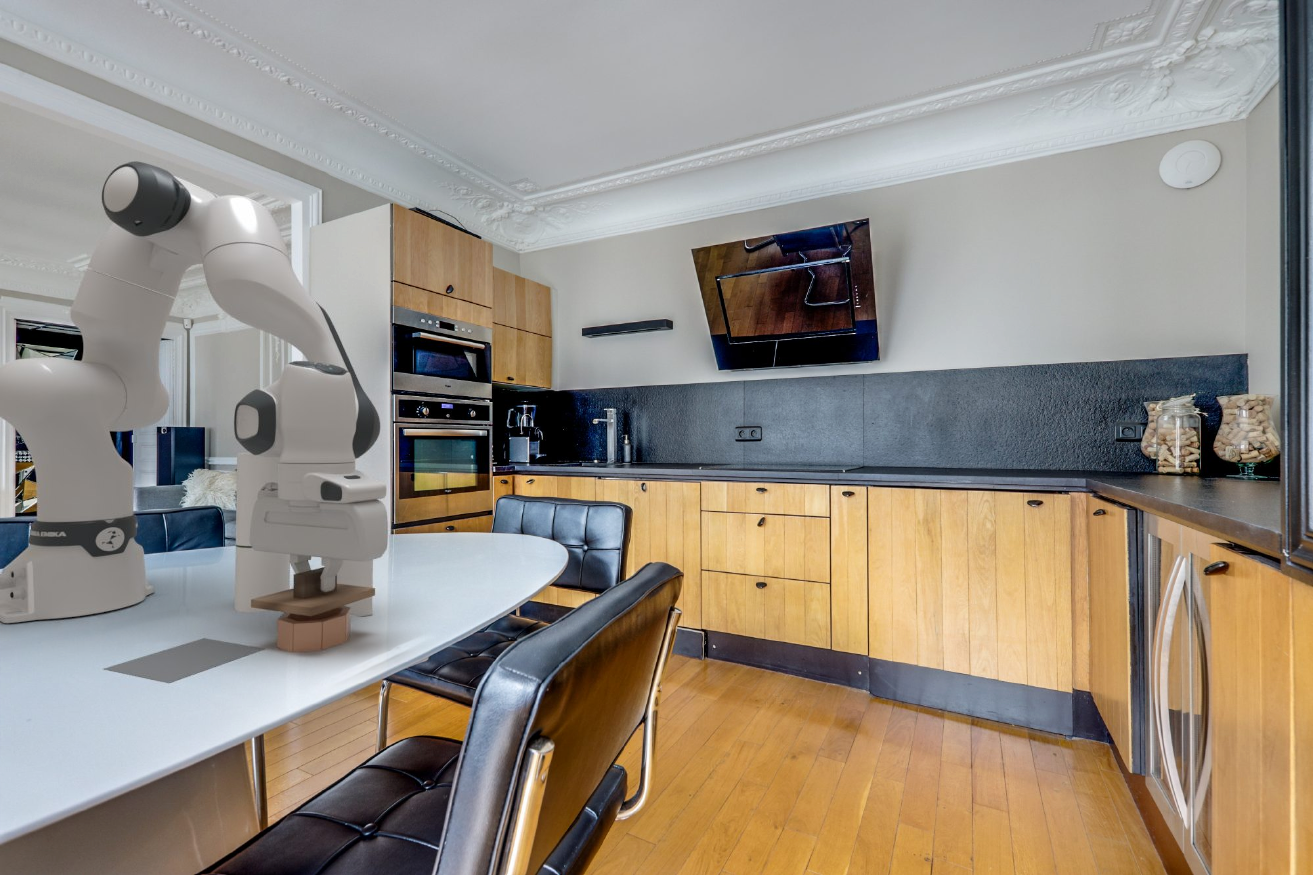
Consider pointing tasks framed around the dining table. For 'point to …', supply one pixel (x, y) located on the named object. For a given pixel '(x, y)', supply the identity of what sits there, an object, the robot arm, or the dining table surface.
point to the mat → (184, 660)
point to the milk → (357, 583)
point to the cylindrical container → (252, 567)
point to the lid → (311, 596)
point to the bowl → (313, 630)
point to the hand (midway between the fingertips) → (315, 589)
